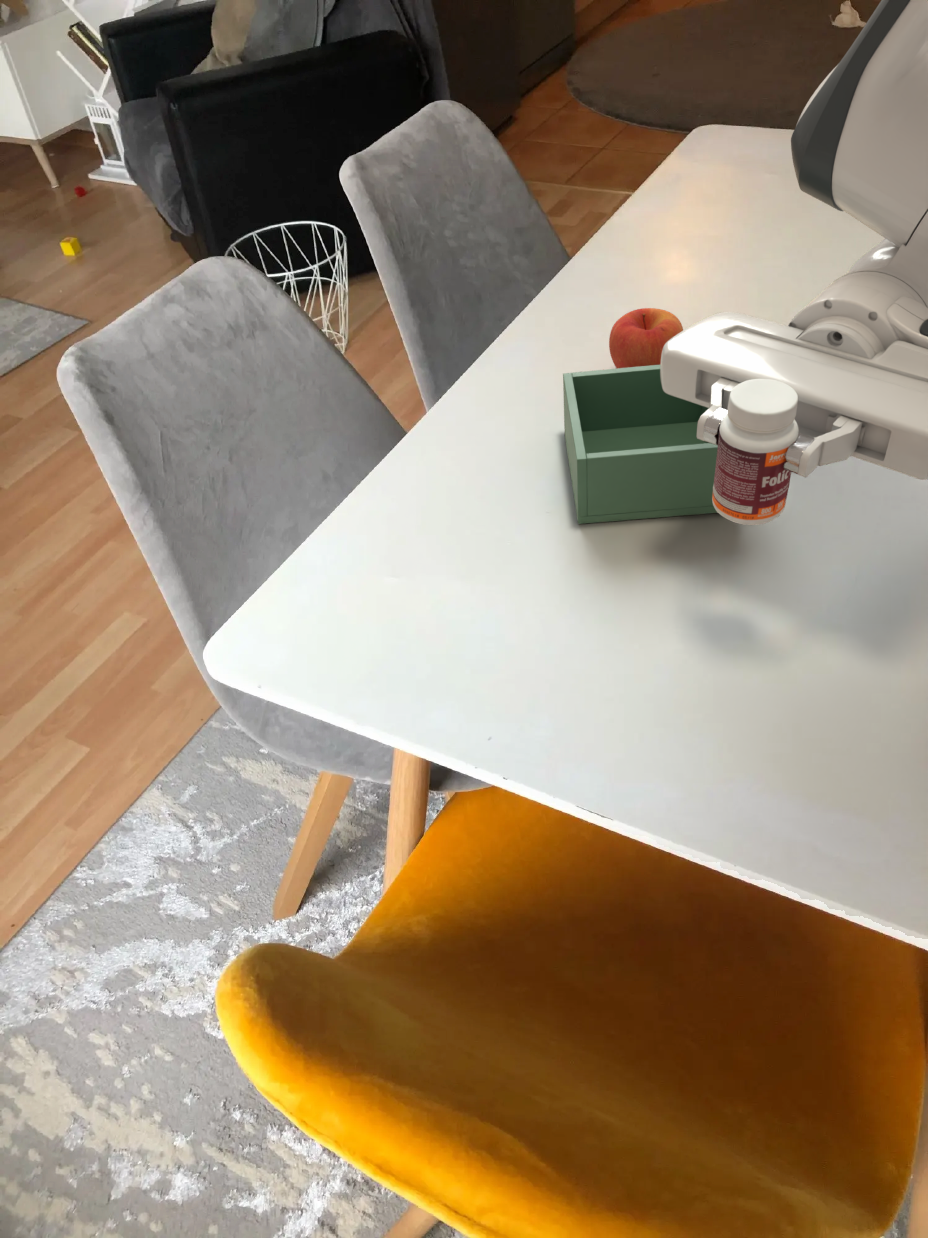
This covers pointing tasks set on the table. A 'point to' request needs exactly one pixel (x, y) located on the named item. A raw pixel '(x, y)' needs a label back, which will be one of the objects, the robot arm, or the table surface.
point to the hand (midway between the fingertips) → (750, 448)
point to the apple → (642, 337)
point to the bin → (634, 447)
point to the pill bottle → (755, 452)
